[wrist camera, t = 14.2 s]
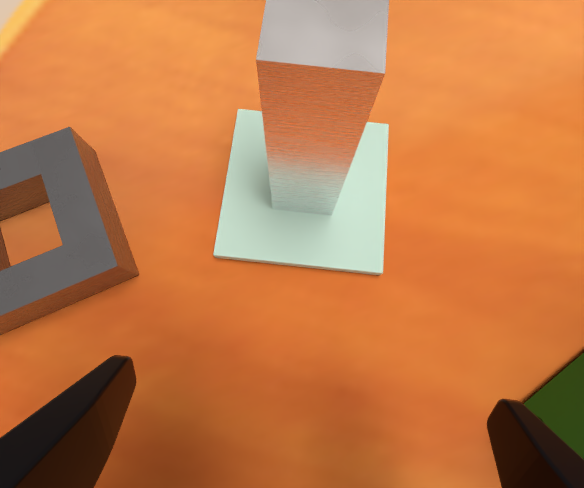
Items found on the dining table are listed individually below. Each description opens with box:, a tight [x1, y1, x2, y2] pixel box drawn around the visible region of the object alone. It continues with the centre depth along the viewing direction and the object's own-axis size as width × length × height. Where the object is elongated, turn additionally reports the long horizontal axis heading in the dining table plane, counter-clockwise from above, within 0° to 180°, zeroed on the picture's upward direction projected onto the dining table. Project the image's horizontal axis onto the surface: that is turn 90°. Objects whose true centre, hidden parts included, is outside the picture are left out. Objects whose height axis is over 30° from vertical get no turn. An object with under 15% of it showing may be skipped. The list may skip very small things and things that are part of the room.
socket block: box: [0, 127, 139, 335], centre depth 22 cm, size 10×10×3 cm
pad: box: [213, 109, 389, 275], centre depth 24 cm, size 11×11×1 cm
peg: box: [256, 0, 389, 216], centre depth 17 cm, size 4×4×13 cm
